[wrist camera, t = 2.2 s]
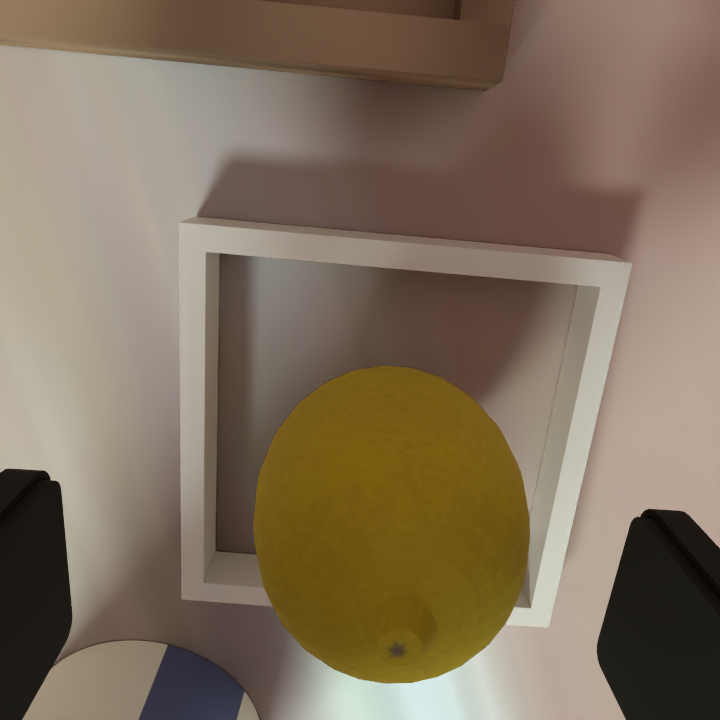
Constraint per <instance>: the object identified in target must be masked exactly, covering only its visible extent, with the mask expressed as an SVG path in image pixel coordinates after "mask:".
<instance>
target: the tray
mask: <svg viewBox="0 0 720 720" xmlns="http://www.w3.org/2000/svg"><path fill="white" fill-rule="evenodd" d="M513 7H514V0H0V45H9V46H19V47H30V48H40V49H51V50H61V51H72V52H82V53H93V54H103V55H114V56H125V57H135V58H146V59H156V60H167V61H177V62H188V63H198V64H209V65H219V66H230V67H240V68H251V69H261V70H272V71H282V72H293V73H303V74H314V75H324V76H335V77H345V78H356V79H367V80H377V81H388V82H398V83H409V84H419V85H430V86H440V87H451V88H461V89H472V90H482V91H486V90H488V89H489V88H491V87H493V86H495V85H497V84H498V83H500V82H502V81H503V74H504V67H505V61H506V54H507V47H508V40H509V34H510V27H511V20H512V13H513Z"/></svg>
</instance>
